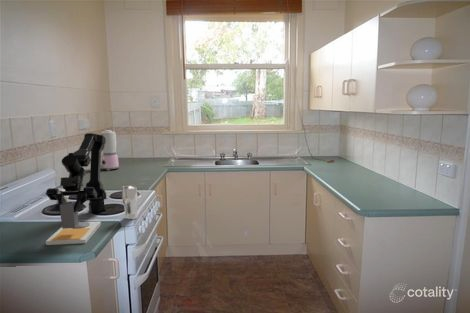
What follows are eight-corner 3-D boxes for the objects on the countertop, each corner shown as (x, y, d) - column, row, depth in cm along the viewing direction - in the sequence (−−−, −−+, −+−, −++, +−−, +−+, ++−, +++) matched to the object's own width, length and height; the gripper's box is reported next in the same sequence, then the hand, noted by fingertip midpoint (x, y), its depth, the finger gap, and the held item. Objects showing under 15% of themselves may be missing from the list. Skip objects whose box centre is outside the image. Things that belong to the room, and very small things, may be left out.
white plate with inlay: (66, 225, 150) (66, 222, 150) (101, 224, 151) (100, 220, 151) (46, 244, 130) (45, 240, 130) (85, 243, 131) (85, 238, 131)
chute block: (66, 225, 138) (63, 201, 136) (78, 224, 138) (76, 201, 136) (62, 228, 134) (59, 204, 132) (75, 228, 134) (72, 204, 132)
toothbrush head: (70, 189, 197) (69, 194, 174) (71, 200, 197) (70, 207, 175) (60, 190, 195) (57, 195, 172) (61, 202, 195) (58, 208, 173)
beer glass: (129, 214, 164) (127, 184, 162) (141, 215, 162) (139, 185, 160) (120, 219, 158) (118, 188, 155) (133, 220, 156) (131, 189, 153)
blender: (113, 167, 282) (110, 129, 276) (122, 168, 275) (119, 130, 269) (96, 170, 269) (93, 131, 263) (105, 172, 262) (102, 131, 256)
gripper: (45, 169, 135) (34, 203, 126) (92, 168, 137) (85, 202, 128) (55, 183, 144) (46, 216, 135) (100, 182, 146) (93, 214, 137)
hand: (67, 212), depth 133 cm, fingers closed on chute block, 5 cm apart
